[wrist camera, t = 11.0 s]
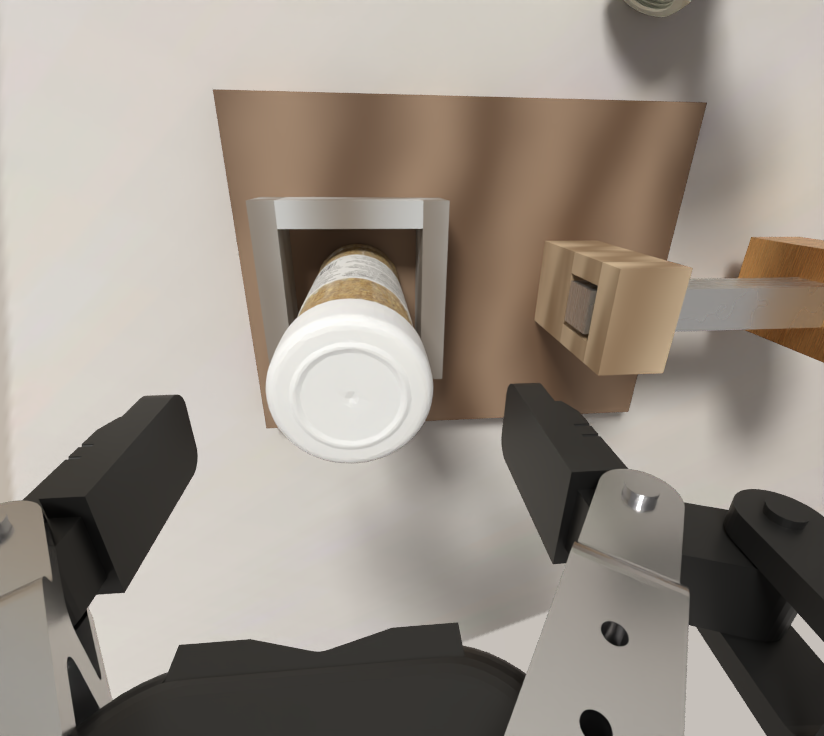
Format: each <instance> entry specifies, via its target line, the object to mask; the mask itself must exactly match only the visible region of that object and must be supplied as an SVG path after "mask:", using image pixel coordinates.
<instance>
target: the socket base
mask: <svg viewBox="0 0 824 736" xmlns="http://www.w3.org/2000/svg"><path fill="white" fill-rule="evenodd" d="M213 94H214V100H215V106H216V113H217V119H218V125H219V131H220V138H221V144H222V150H223V157H224V163H225V169H226V176H227V182H228V188H229V195H230V201H231V207H232V213H233V220H234V226H235V232H236V239H237V245H238V251H239V258H240V264H241V270H242V276H243V283H244V289H245V295H246V302H247V308H248V314H249V321H250V327H251V333H252V340H253V346H254V352H255V358H256V365H257V371H258V377H259V384H260V390H261V396H262V403H263V409H264V415H265V422H266V428H278V426H277V425H276V423H275V421H274V420H273V417H272V415H271V412H270V410H269V407H268V403H267V398H266V378H267V372H268V368H269V366H270V363H271V360H272V357H273V355H274V352H275V350H276V348H277V346H278V344H279V342H280V340H281V338H282V336H283V334H284V333H285V331H286V330H287V328H288V327H289V326H290V325H291V323H292V322H293V321H294V320H295V319H296V318H297V317H298V314H299V312H300V309H301V307H302V305H303V303H304V301H305V299H306V297H307V295H308V293H309V291H310V289H311V287H312V285H313V283H314V281H315V279H316V277H317V276H318V273H319V271H320V267H321V265H322V264H323V262H324V261H325V260H326V259H327V257H328V256H329V255H330V254H332V253H333V252H334V251H335V250H336V249H339V248H341V247H343V246H346V245H351V244H363V245H370V246H372V247H374V248H376V249H379V250H380V251H381V252H383V253H384V254H385V255H386V256H387V257H388V258H389V259H390V261H391V262H392V263H393V264H394V266H395V268H396V271H397V274H398V277H399V283H400V286H401V289H402V292H403V295H404V298H405V301H406V304H407V308H408V311H409V314H410V317H411V320H412V324H413V328H414V329H415V330H416V332H417V334H418V335H419V337H420V339H421V341H422V343H423V346H424V349H425V351H426V354H427V357H428V361H429V365H430V369H431V373H432V378H433V398H432V404H431V407H430V411H429V414H428V416H427V418H426V420H425V421H436V420H458V419H480V418H501V417H504V410H505V401H506V393H507V388H508V386H509V385H510V384H515V383H541V384H542V385H543V387H544V388H545V389H546V390H547V392H548V393H549V394H550V396H551V397H552V398H553V399H554V401H563V402H564V403H566V404H568V405H569V406H571V407H573V408H574V409H576V410H578V411H579V412H580V413H581V414H588V413H610V412H628V411H629V407H630V403H631V399H632V395H633V391H634V387H635V383H636V379H637V375H638V374H654V373H663V372H664V368H665V365H666V361H667V358H668V354H669V350H670V347H671V343H672V340H673V336H674V333H675V329H676V326H677V322H678V318H679V315H680V311H681V308H682V304H683V301H684V297H685V294H686V290H687V287H688V283H689V279H690V276H691V272H692V269H693V268H691V267H687V266H684V265H680V264H677V263H673V262H670V261H667V258H668V254H669V250H670V246H671V242H672V238H673V234H674V230H675V226H676V222H677V218H678V214H679V210H680V206H681V203H682V199H683V195H684V191H685V187H686V183H687V179H688V175H689V171H690V167H691V163H692V159H693V155H694V151H695V148H696V144H697V140H698V136H699V132H700V128H701V124H702V120H703V116H704V112H705V108H706V104H707V103H702V102H664V101H626V100H589V99H551V98H513V97H476V96H438V95H400V94H363V93H325V92H287V91H249V90H213ZM581 280H587V281H589V282H591V283H593V284H595V285H597V286H598V289H597V294H596V299H595V304H594V309H593V315H592V320H591V325H590V330H589V334H582V333H581V332H580V331H578V330H577V329H576V328H574V327H573V326H571V325H570V324H569V323H567V322H566V321H565V315H566V309H567V303H568V297H569V290H570V284H571V281H581Z"/></svg>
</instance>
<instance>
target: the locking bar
mask: <svg viewBox="0 0 824 736" xmlns="http://www.w3.org/2000/svg"><path fill="white" fill-rule="evenodd" d="M597 289H598V286H597V285H595V284H593V283H591V282H589V281H587V280H581V281H571V284H570V290H569V297H568V303H567V309H566V315H565V321H566V322H567V323H569V324H570V325H571V326H573V327H574V328H576V329H577V330H578V331H580V332H581V333H582V334H589V330H590V325H591V320H592V315H593V309H594V304H595V299H596V294H597ZM712 330H746V331H748V332H751V333H753V334H756V335H758V336H760V337H763V338H765V339H768V340H770V341H773V342H775V343H777V344H780V345H782V346H785V347H787V348H790V349H792V350H794V351H797V352H799V353H802V354H804V355H807V356H809V357H811V358H814V359H816V360H819V361H821V362H824V240H817V239H810V238H803V237H751V240H750V243H749V246H748V249H747V252H746V255H745V258H744V261H743V264H742V267H741V270H740V273H739V276H738V278H712V279H689V283H688V287H687V290H686V294H685V297H684V301H683V304H682V308H681V311H680V315H679V318H678V322H677V326H676V329H675V332H676V331H712Z"/></svg>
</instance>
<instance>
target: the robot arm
mask: <svg viewBox="0 0 824 736" xmlns="http://www.w3.org/2000/svg"><path fill="white" fill-rule="evenodd" d="M502 451H503V456H504V459H505V461H506V464H507V466H508V468H509V470H510V472H511V474H512V477H513V479H514V481H515V483H516V485H517V487H518V490H519V492H520V494H521V496H522V498H523V500H524V503H525V505H526V507H527V509H528V511H529V514H530V516H531V518H532V520H533V522H534V524H535V527H536V529H537V531H538V533H539V535H540V537H541V540H542V542H543V544H544V546H545V548H546V550H547V553H548V555H549V557H550V559H551V561H552V563H553V564H561V563H566V565H565V568H564V571H563V574H562V576H561V579H560V582H559V585H558V588H557V590H556V593H555V596H554V599H553V602H552V604H551V607H550V610H549V613H548V615H547V618H546V621H545V624H544V627H543V629H542V632H541V635H540V638H539V640H538V643H537V646H536V649H535V652H534V654H533V657H532V660H531V663H530V666H529V669H528V671H527V674H525V673H524V672H523V671H521V670H520V669H518V668H517V667H515V666H513V665H511V664H510V663H508V662H507V661H505V660H503V659H501V658H499V657H496V656H494V655H492V654H490V653H487V652H484V651H481V650H478V649H475V648H471V647H466V646H462V641H461V635H460V630H459V625H458V623H446V624H434V625H421V626H409V627H397V628H390V629H387V630H385V631H382V632H379V633H376V634H373V635H370V636H367V637H364V638H361V639H359V640H356V641H353V642H350V643H347V644H344V645H341V646H338V647H335V648H333V649H330V650H326V651H321V652H314V651H308V650H303V649H298V648H293V647H288V646H282V645H277V644H272V643H267V642H262V641H257V640H251V639H248V640H236V641H223V642H211V643H199V644H186V645H179V647H178V649H177V652H176V654H175V657H174V659H173V661H172V664H171V666H170V669H169V671H168V672H167V673H164V674H161V675H159V676H157V677H155V678H152V679H150V680H148V681H146V682H143V683H141V684H139V685H138V686H136V687H134V688H132V689H130V690H129V691H127V692H125V693H123V694H121V695H120V696H118V697H117V698H115V699H114V700H113V699H112V696H111V692H110V688H109V684H108V680H107V675H106V671H105V667H104V663H103V658H102V654H101V650H100V645H99V641H98V637H97V633H96V628H95V624H94V620H93V617H92V614H91V612H90V610H89V608H88V606H89V605H90V603H91V602H92V600H93V599H94V597H95V596H96V595H98V594H112V593H125V591H126V589H127V588H128V586H129V584H130V582H131V581H132V579H133V577H134V576H135V574H136V572H137V571H138V569H139V567H140V565H141V564H142V562H143V560H144V559H145V557H146V555H147V553H148V552H149V550H150V548H151V547H152V545H153V543H154V542H155V540H156V538H157V536H158V535H159V533H160V531H161V530H162V528H163V526H164V524H165V523H166V521H167V519H168V518H169V516H170V514H171V513H172V511H173V509H174V507H175V506H176V504H177V502H178V501H179V499H180V497H181V495H182V494H183V492H184V490H185V489H186V487H187V485H188V484H189V482H190V480H191V478H192V477H193V475H194V473H195V470H196V466H197V447H196V443H195V439H194V435H193V432H192V428H191V424H190V420H189V416H188V412H187V408H186V404H185V401H184V399H183V398H182V397H181V396H180V395H155V396H143V397H142V398H140V399H139V400H138V401H137V402H136V403H135V404H134V405H133V406H132V407H131V408H130V409H129V410H128V411H127V412H126V413H125V414H124V415H123V416H122V417H119V418H117V419H115V420H114V421H112V422H110V423H108V424H107V425H105V426H103V427H101V428H100V429H98V430H96V431H95V432H94V433H93V434H92V435H91V436H90V437H89V438H88V439H87V440H86V441H85V442H84V443H83V444H82V447H78V448H77V449H76V450H75V451H74V452H73V453H72V454H71V455H70V456H69V459H68V460H65V461H64V462H62V463H61V464H60V465H59V466H58V467H57V468H56V469H55V470H54V471H53V472H52V473H51V474H50V475H49V476H48V477H47V478H46V479H44V480H43V481H42V482H41V483H40V484H39V485H38V486H37V487H36V488H35V489H34V490H33V491H32V492H31V493H30V494H29V495H27V496H26V497H25V498H24V499H23V500H21V501H11V502H5V503H1V504H0V736H684V727H685V701H686V676H687V675H686V674H687V651H688V627H689V625H691V626H695V627H697V629H698V631H699V632H700V633H701V635H702V636H703V638H704V640H705V641H706V643H707V644H708V646H709V647H710V649H711V651H712V652H713V654H714V655H715V657H716V658H717V660H718V661H719V663H720V664H721V666H722V668H723V669H724V671H725V672H726V674H727V675H728V677H729V678H730V680H731V681H732V683H733V684H734V686H735V688H736V689H737V691H738V692H739V694H740V695H741V697H742V698H743V700H744V701H745V703H746V704H747V706H748V708H749V709H750V711H751V712H752V714H753V715H754V717H755V718H756V720H757V721H758V723H759V724H760V726H761V728H762V729H763V731H764V732H765V734H766V735H767V736H824V663H823V662H822V661H821V660H820V659H819V657H818V656H817V655H816V654H815V653H814V652H813V650H812V649H811V648H810V647H809V646H808V645H807V643H806V642H805V641H804V640H803V639H802V638H801V637H800V635H799V634H798V633H797V632H796V631H795V630H794V628H793V627H792V626H791V623H792V621H793V620H794V618H795V617H796V615H797V613H798V614H799V615H800V616H801V617H802V618H803V619H804V620H805V622H807V624H808V625H809V626H810V627H811V628H812V629H813V630H814V631H815V633H816V634H817V635H818V636H819V637H820V638H821V639H822V640H823V642H824V517H823V516H822V515H821V514H819V513H818V512H817V511H815V510H813V509H812V508H810V507H809V506H807V505H805V504H803V503H801V502H799V501H797V500H795V499H793V498H790V497H787V496H785V495H782V494H778V493H775V492H771V491H766V490H759V489H748V490H743V491H740V492H738V493H737V494H736V495H735V496H734V498H733V501H732V503H731V506H730V508H729V510H725V509H719V508H713V507H707V506H701V505H695V504H690V503H685V502H683V499H682V498H681V496H680V494H679V493H678V492H677V491H676V490H675V489H674V488H673V487H671V486H670V485H669V484H667V483H666V482H665V481H663V480H661V479H659V478H657V477H655V476H653V475H651V474H648V473H645V472H641V471H638V470H632V469H628V468H627V467H626V466H625V464H624V463H623V462H622V461H621V460H620V459H619V458H618V456H617V455H616V454H615V453H614V452H613V451H612V449H611V448H610V447H609V446H608V445H607V444H606V442H605V441H604V440H603V439H602V438H601V437H600V436H598V433H597V432H596V431H595V430H594V429H593V427H592V426H589V423H588V422H587V420H586V419H585V418H584V417H583V416H582V415H581V413H580V412H579V411H578V410H576V409H574V408H573V407H571V406H569V405H568V404H566V403H564V402H563V401H554V399H553V398H552V397H551V396H550V394H549V393H548V392H547V390H546V389H545V388H544V387H543V385H542V384H541V383H515V384H510V385H509V386H508V388H507V393H506V401H505V410H504V419H503V428H502Z"/></svg>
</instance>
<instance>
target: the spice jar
mask: <svg viewBox="0 0 824 736" xmlns="http://www.w3.org/2000/svg"><path fill="white" fill-rule="evenodd" d="M266 398H267V403H268V407H269V410H270V412H271V415H272V417H273V420H274V421H275V423H276V425H277V426H278V428H279V429H280V431H281V432H282V433H283V434H284V435H285V436H286V437H287V438H288V439H289V440H290V441H291V442H292V443H293V444H294V445H296V446H297V447H298V448H300V449H301V450H303V451H305V452H307V453H308V454H310V455H313V456H315V457H318V458H320V459H323V460H327V461H332V462H338V463H361V462H368V461H372V460H376V459H379V458H382V457H385V456H387V455H389V454H391V453H393V452H395V451H396V450H398V449H399V448H401V447H403V446H404V445H405V444H406V443H407V442H409V441H410V440H411V439H412V438H413V437H414V436H415V435H416V433H417V432H418V431H419V430H420V428H421V427H422V425H423V424H424V422H425V420H426V418H427V416H428V414H429V411H430V407H431V404H432V398H433V378H432V373H431V369H430V365H429V361H428V357H427V354H426V351H425V349H424V346H423V343H422V341H421V339H420V337H419V335H418V334H417V332H416V330H415V329H414V328H413V324H412V320H411V317H410V314H409V311H408V308H407V304H406V301H405V298H404V295H403V292H402V289H401V286H400V283H399V277H398V274H397V271H396V268H395V266H394V264H393V263H392V262H391V261H390V259H389V258H388V257H387V256H386V255H385V254H384V253H383V252H381V251H380V250H379V249H376V248H374V247H372V246H370V245H363V244H351V245H346V246H343V247H341V248H339V249H336V250H335V251H334V252H333V253H332V254H330V255H329V256H328V257H327V259H326V260H325V261H324V262H323V264H322V265H321V267H320V271H319V273H318V276H317V277H316V279H315V281H314V283H313V285H312V287H311V289H310V291H309V293H308V295H307V297H306V299H305V301H304V303H303V305H302V307H301V309H300V312H299V314H298V317H297V318H296V319H295V320H294V321H293V322H292V323H291V325H290V326H289V327H288V328H287V330H286V331H285V333H284V334H283V336H282V338H281V340H280V342H279V344H278V346H277V348H276V350H275V352H274V355H273V357H272V360H271V363H270V366H269V368H268V372H267V378H266Z"/></svg>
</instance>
